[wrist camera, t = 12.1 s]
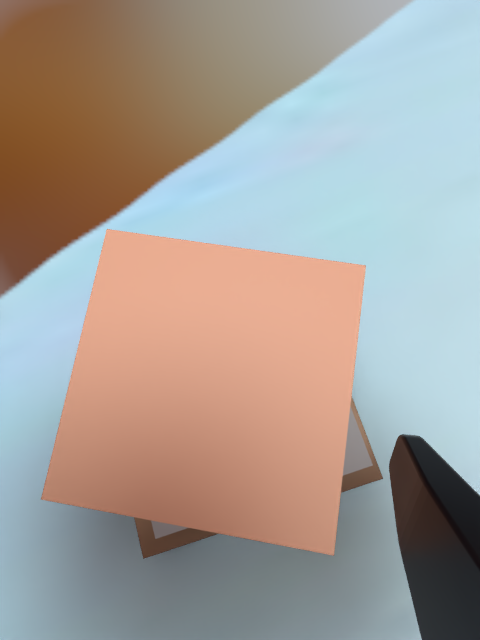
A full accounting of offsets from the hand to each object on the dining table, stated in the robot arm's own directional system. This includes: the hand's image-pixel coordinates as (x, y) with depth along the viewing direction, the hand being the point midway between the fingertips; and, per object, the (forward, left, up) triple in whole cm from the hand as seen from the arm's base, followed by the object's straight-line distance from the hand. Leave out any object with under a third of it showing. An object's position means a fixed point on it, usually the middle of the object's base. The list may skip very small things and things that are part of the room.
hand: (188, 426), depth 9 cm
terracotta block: (+2, -1, -10) cm, 10 cm away
